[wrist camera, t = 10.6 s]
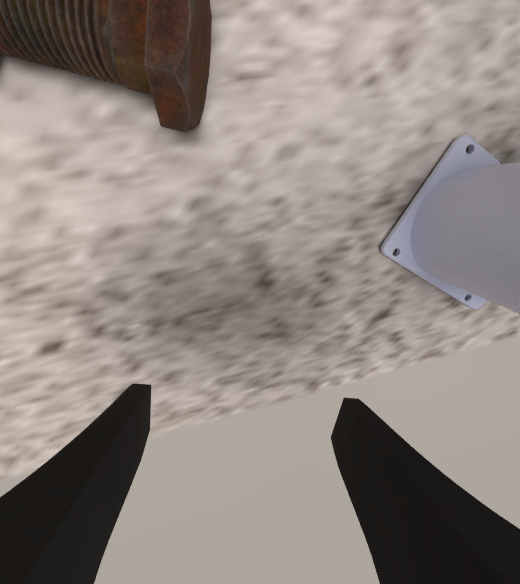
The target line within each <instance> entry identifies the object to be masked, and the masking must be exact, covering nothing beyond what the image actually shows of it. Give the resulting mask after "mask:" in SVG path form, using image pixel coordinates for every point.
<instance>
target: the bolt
mask: <svg viewBox="0 0 520 584" xmlns="http://www.w3.org/2000/svg"><path fill="white" fill-rule="evenodd" d="M211 19H212V16H211V8H210V0H0V54H4V55H8V56H12V57H17V58H21V59H25V60H30V61H32V62H38V63H40V64H45V65H47V66H53V67H55V68H60V69H63V70H69V71H71V72H76V73H79V74H85V75H87V76H92V77H95V78H100V79H103V80H105V81H107V80H109V81H110V82H116V83H118V84H122V85H125V86H126V87H127V88H129V89H132V90H136V91H140V92H143V93H147V94H151V95H152V96H153V99H154V103H155V107H156V110H157V114H158V118H159V121H160V125H161V127H165V128H169V129H174V130H178V131H182V132H186V131H189V130H191V129H193V128H195V127H196V126H198V124H199V123H200V119H201V116H202V112H203V108H204V104H205V99H206V91H207V83H208V77H209V65H210V48H211Z"/></svg>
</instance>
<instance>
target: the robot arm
mask: <svg viewBox="0 0 520 584" xmlns="http://www.w3.org/2000/svg"><path fill="white" fill-rule="evenodd" d="M467 146H468V147H469V151H468V153H466V148H467ZM395 249H397V252H396V254H394V255H393V250H395ZM381 252H382V253H383V254H384V255H385V256H387V257H388V258H390V259H392V260H393V261H395V262H397V263H398V264H400V265H401V266H403V267H405V268H406V269H408V270H409V271H411V272H413V273H414V274H416V275H418V276H419V277H421V278H422V279H424V280H426V281H427V282H429V283H431V284H432V285H434V286H435V287H437V288H439V289H440V290H442V291H443V292H445V293H447V294H448V295H450V296H452V297H453V298H455V299H456V300H458V301H460V302H461V303H463V304H464V305H466V306H468V307H469V308H471V309H478V308H480V307H481V306H482V305H483V304H484V303H485V302H486V300H489V301H491V302H493V303H496V304H498V305H500V306H503V307H505V308H507V309H510V310H512V311H514V312H517V313H519V314H520V162H516V163H506V164H502V163H501V162H499V161H498V160H497V159H496V158H495V157H494V156H492V155H491V154H490V153H489V152H488V151H487V150H485V149H484V148H483V147H482V146H481V145H479V144H478V143H477V142H476V141H475V140H474V139H472V138H471V137H470V136H468V135H463V136H459V137H457V138H456V139H455V140H454V141H453V143H452V144H451V146H450V147H449V149H448V150H447V152H446V153H445V154H444V156H443V157H442V159H441V160H440V162H439V163H438V165H437V166H436V167H435V169H434V170H433V172H432V173H431V175H430V176H429V178H428V179H427V180H426V182H425V183H424V185H423V186H422V188H421V189H420V190H419V192H418V193H417V195H416V196H415V198H414V199H413V201H412V202H411V203H410V205H409V206H408V208H407V209H406V211H405V212H404V214H403V215H402V216H401V218H400V219H399V221H398V222H397V224H396V225H395V227H394V228H393V229H392V231H391V232H390V234H389V235H388V237H387V238H386V240H385V241H384V242H383V244H382V246H381ZM466 295H467V297H466ZM465 297H466V298H465ZM150 407H151V385H146V384H132V385H130V386H129V387H128V388H127V389H126V390H125V391H124V392H123V393H122V394H121V395H120V396H119V397H118V398H117V399H116V400H115V401H114V402H113V403H112V404H111V405H110V406H109V407H108V408H107V409H106V410H105V411H104V412H103V413H102V414H101V415H100V416H99V417H98V418H97V419H95V420H94V421H93V422H92V423H91V424H90V425H89V426H88V427H87V428H86V429H85V430H84V431H82V432H81V433H80V434H79V435H78V436H77V437H76V438H74V439H73V440H72V441H71V442H70V443H69V444H67V445H66V446H65V447H64V448H63V449H61V450H60V451H59V452H58V453H57V454H56V455H54V456H53V457H52V458H51V459H50V460H48V461H47V462H46V463H45V464H43V465H42V466H41V467H40V468H38V469H37V470H36V471H35V472H33V473H32V474H31V475H30V476H28V477H27V478H26V479H24V480H23V481H22V482H20V483H19V484H18V485H16V486H15V487H14V488H12V489H11V490H10V491H9V492H7V493H6V494H4V495H3V496H1V497H0V584H94V582H95V578H96V575H97V572H98V569H99V566H100V563H101V560H102V557H103V554H104V551H105V549H106V546H107V544H108V541H109V538H110V536H111V533H112V531H113V528H114V526H115V523H116V521H117V519H118V516H119V513H120V511H121V508H122V506H123V504H124V501H125V498H126V496H127V494H128V491H129V489H130V486H131V484H132V481H133V479H134V476H135V474H136V471H137V469H138V466H139V464H140V461H141V458H142V455H143V451H144V448H145V444H146V441H147V438H148V434H149V431H150ZM331 440H332V444H333V449H334V453H335V456H336V460H337V464H338V467H339V470H340V472H341V475H342V478H343V480H344V483H345V486H346V489H347V491H348V494H349V496H350V499H351V502H352V504H353V507H354V509H355V512H356V515H357V517H358V520H359V522H360V525H361V528H362V530H363V533H364V535H365V538H366V541H367V544H368V547H369V549H370V552H371V555H372V558H373V562H374V565H375V569H376V572H377V575H378V579H379V582H380V584H520V529H519V528H517V527H516V526H514V525H513V524H511V523H510V522H508V521H507V520H505V519H504V518H502V517H501V516H499V515H498V514H497V513H495V512H494V511H492V510H491V509H489V508H488V507H487V506H485V505H484V504H482V503H481V502H480V501H478V500H477V499H476V498H474V497H473V496H472V495H470V494H469V493H468V492H466V491H465V490H464V489H462V488H461V487H460V486H458V485H457V484H456V483H454V482H453V481H452V480H451V479H449V478H448V477H447V476H446V475H444V474H443V473H442V472H441V471H440V470H438V469H437V468H436V467H435V466H434V465H432V464H431V463H430V462H429V461H428V460H426V459H425V458H424V457H423V456H422V455H421V454H419V453H418V452H417V451H416V450H415V449H414V448H413V447H411V446H410V445H409V444H408V443H407V442H406V441H405V440H404V439H403V438H401V437H400V436H399V435H398V434H397V433H396V432H395V431H394V430H393V429H391V428H390V427H389V426H388V425H387V424H386V423H385V422H384V421H383V420H382V419H381V418H379V416H377V415H376V414H375V413H374V412H373V411H372V410H371V409H370V408H369V407H368V406H366V405H365V404H364V403H363V402H362V401H361V400H359V399H353V398H344V399H343V402H342V405H341V408H340V411H339V415H338V417H337V421H336V423H335V426H334V429H333V433H332V436H331Z"/></svg>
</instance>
